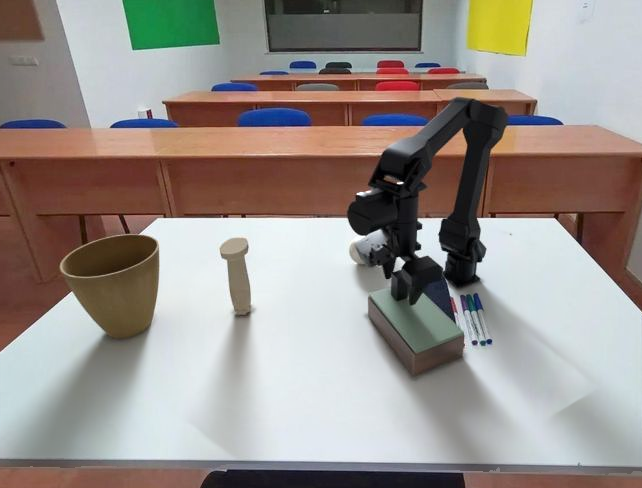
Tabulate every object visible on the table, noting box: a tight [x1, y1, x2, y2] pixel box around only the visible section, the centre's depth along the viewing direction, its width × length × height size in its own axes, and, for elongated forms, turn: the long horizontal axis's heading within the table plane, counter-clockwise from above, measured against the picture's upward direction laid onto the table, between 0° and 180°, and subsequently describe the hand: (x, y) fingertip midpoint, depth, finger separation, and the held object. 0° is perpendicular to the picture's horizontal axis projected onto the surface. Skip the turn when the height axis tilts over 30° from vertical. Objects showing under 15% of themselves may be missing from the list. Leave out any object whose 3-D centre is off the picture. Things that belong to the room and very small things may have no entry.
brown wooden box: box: [367, 296, 466, 377], centre depth 72 cm, size 10×17×4 cm, turn 27°
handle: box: [219, 237, 252, 316], centre depth 77 cm, size 5×6×15 cm
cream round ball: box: [348, 235, 366, 265], centre depth 96 cm, size 7×7×7 cm
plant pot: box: [59, 233, 160, 340], centre depth 73 cm, size 15×15×16 cm
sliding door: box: [368, 269, 465, 354], centre depth 71 cm, size 10×17×6 cm, turn 27°
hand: (399, 291), depth 75 cm, fingers open, 9 cm apart
